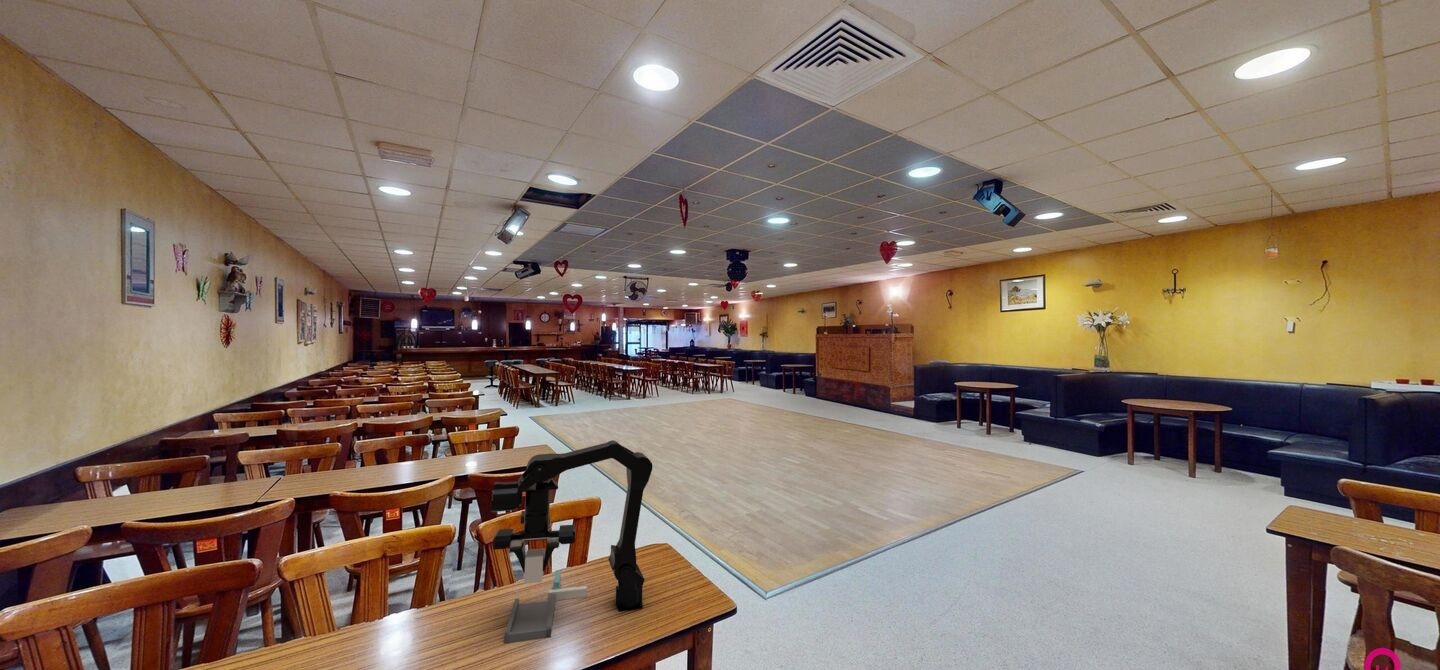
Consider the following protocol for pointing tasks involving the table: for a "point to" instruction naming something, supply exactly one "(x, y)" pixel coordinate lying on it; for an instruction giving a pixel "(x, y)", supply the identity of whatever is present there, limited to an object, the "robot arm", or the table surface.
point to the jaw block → (534, 566)
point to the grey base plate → (530, 621)
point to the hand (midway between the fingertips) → (534, 571)
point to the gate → (565, 590)
